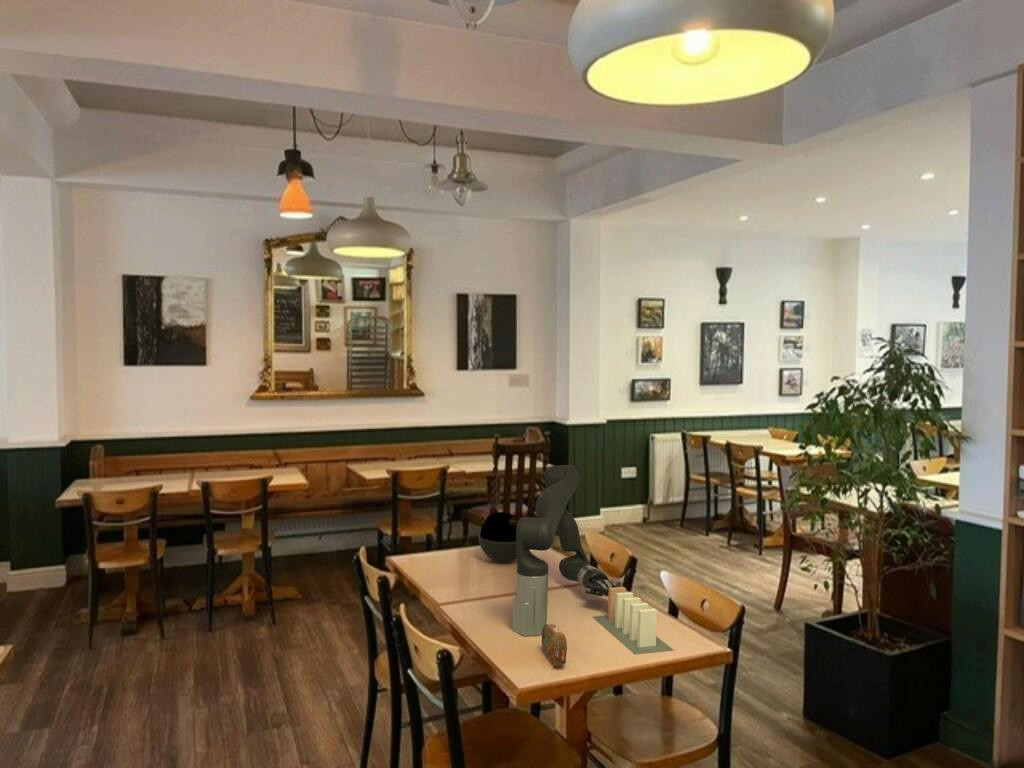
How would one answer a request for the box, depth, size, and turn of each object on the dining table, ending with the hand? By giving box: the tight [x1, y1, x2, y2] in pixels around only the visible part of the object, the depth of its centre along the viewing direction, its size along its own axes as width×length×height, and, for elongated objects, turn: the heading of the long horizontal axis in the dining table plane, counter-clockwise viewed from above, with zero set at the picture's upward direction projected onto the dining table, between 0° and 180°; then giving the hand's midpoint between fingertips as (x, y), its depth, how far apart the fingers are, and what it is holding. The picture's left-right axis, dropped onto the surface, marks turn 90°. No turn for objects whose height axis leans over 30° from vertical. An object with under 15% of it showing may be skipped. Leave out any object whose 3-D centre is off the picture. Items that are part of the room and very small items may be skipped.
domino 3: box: [622, 596, 642, 634], centre depth 221 cm, size 2×5×10 cm, turn 107°
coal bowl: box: [477, 511, 517, 564], centre depth 294 cm, size 20×20×19 cm
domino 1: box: [607, 586, 627, 622], centre depth 231 cm, size 2×5×10 cm, turn 107°
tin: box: [541, 623, 568, 668], centre depth 202 cm, size 15×3×8 cm, turn 14°
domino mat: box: [592, 614, 675, 655], centre depth 222 cm, size 30×12×1 cm, turn 17°
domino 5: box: [637, 608, 658, 647], centre depth 212 cm, size 2×5×10 cm, turn 107°
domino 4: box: [629, 602, 650, 641], centre depth 216 cm, size 2×5×10 cm, turn 107°
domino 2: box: [615, 591, 634, 628], centre depth 226 cm, size 2×5×10 cm, turn 107°
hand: (614, 596), depth 232 cm, fingers closed
